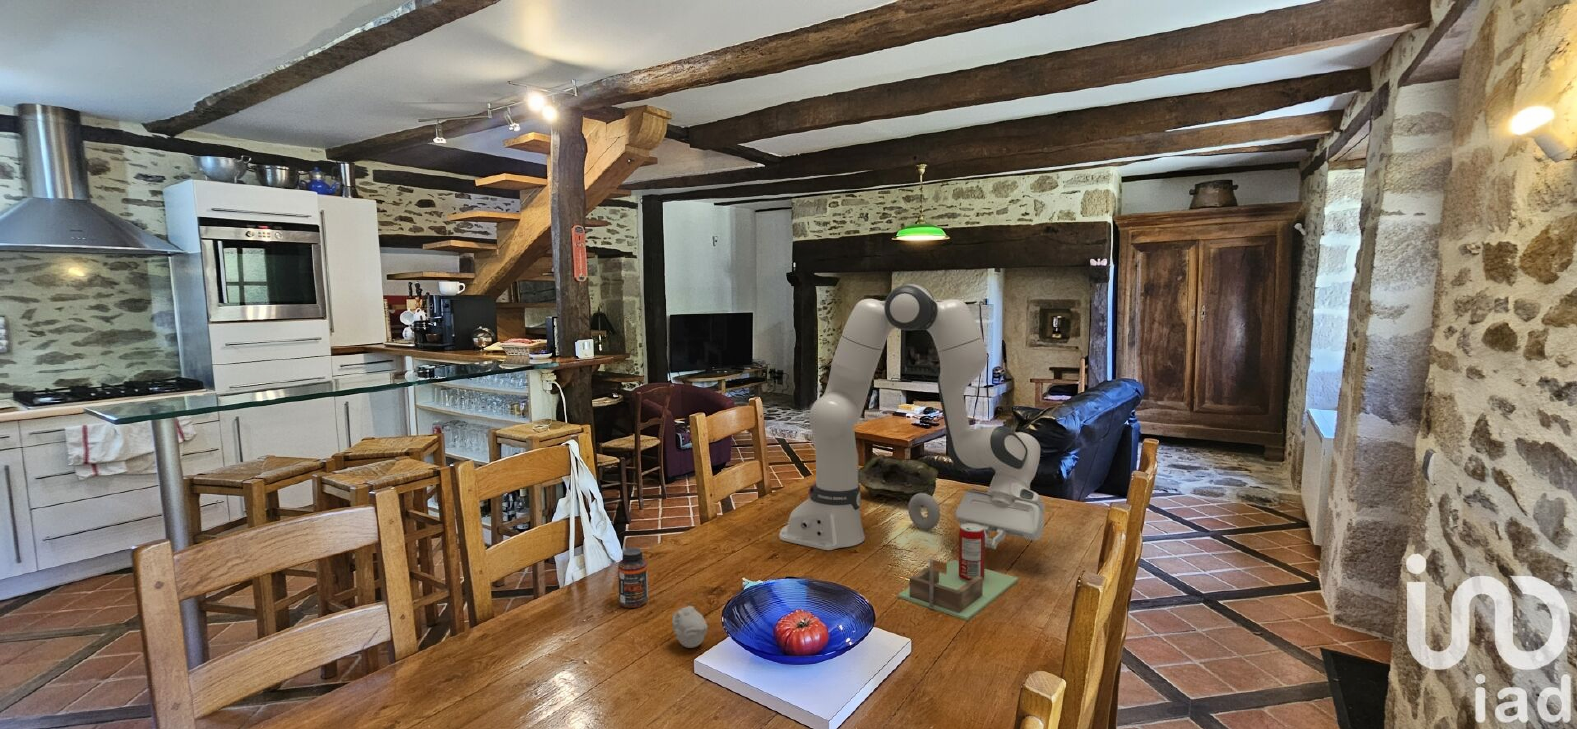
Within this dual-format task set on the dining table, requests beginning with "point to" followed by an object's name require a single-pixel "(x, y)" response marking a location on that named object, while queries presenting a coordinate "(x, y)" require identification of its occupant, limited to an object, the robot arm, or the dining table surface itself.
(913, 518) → the donut
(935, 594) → the pocket
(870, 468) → the hollow geode rock
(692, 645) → the frog figurine
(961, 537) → the soda can
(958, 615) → the felt mat
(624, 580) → the supplement bottle
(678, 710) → the dining table surface
